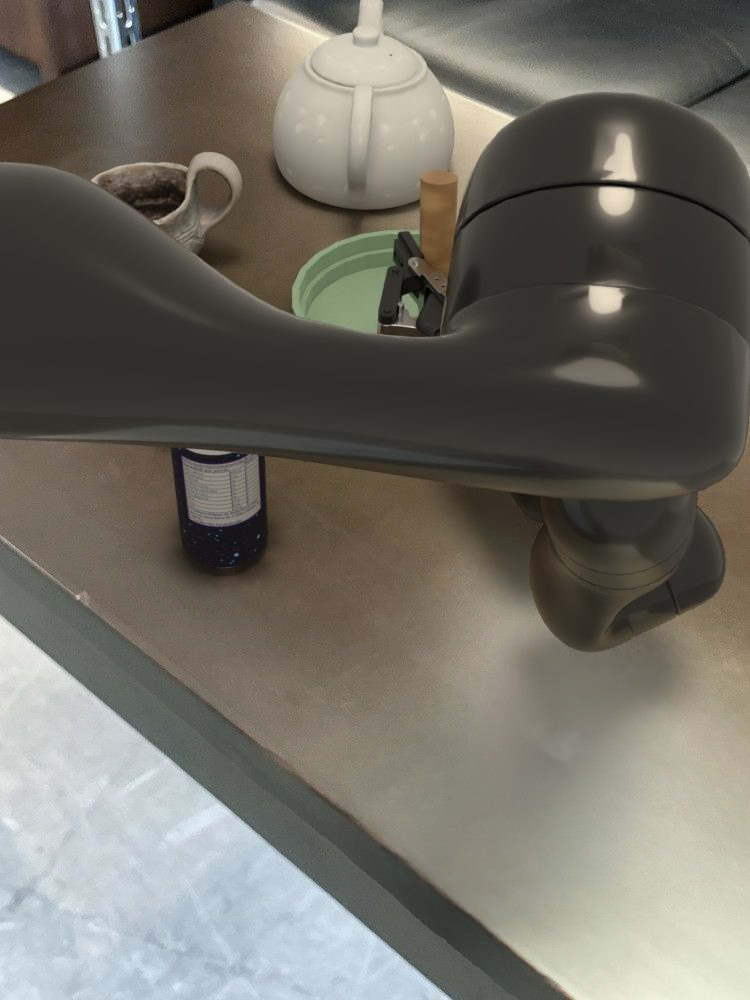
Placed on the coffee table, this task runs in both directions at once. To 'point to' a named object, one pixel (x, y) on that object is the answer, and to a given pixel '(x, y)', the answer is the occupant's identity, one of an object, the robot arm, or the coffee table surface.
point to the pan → (349, 281)
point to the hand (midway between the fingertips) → (422, 239)
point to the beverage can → (220, 505)
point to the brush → (438, 218)
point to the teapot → (362, 120)
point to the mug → (175, 194)
